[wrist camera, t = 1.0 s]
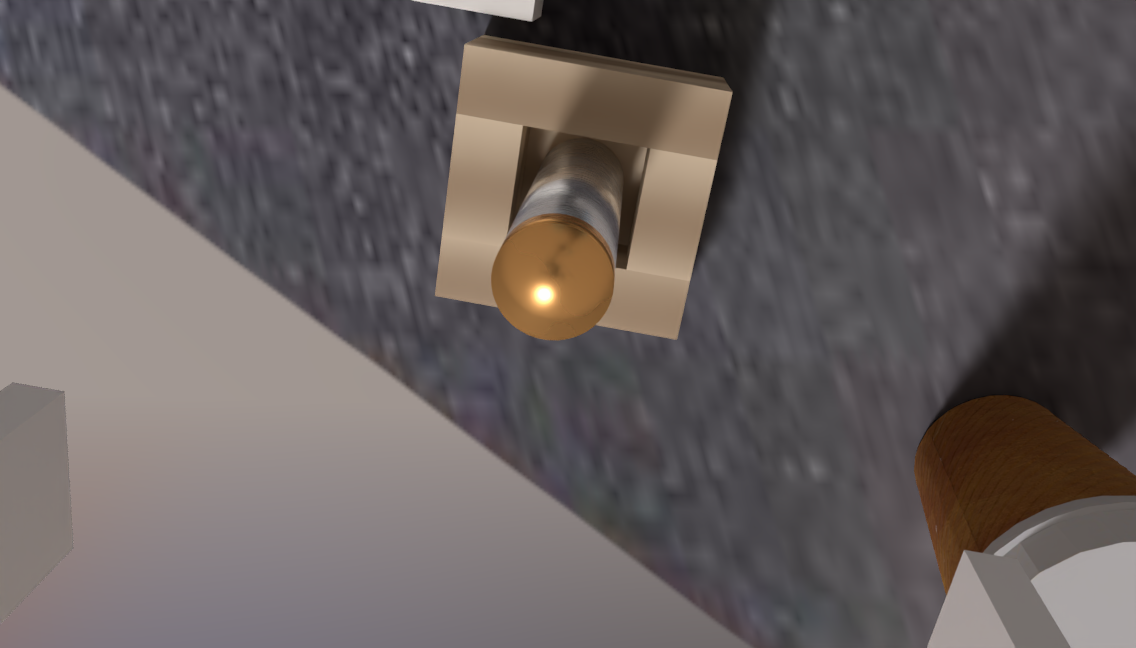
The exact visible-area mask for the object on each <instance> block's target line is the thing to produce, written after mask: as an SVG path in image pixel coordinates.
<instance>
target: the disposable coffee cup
mask: <svg viewBox="0 0 1136 648" xmlns="http://www.w3.org/2000/svg"><path fill="white" fill-rule="evenodd" d="M914 472H915V478H916V483H917V486H918V490H919V494H920V497H921V501H922V505H923V509H924V513H925V516H926V521H927V524H928V528H929V531H930V536H931V540H932V543H933V547H934V550H935V554H936V558H937V562H938V566H939V570H940V573H941V577H942V581H943V584H944V589H945V593H946V596H947V593H948V591H949V588H950V586H951V583H952V580H953V578H954V575H955V572H956V570H957V567H958V564H959V562H960V559H961V557H962V554H963V551H964V550H968V551H974V552H980V553H985V554H991V555H997V556H1002V557H1008V558H1014V559H1018V561H1019V563H1020V564H1021V566H1022V567H1023V569H1024V571H1025V572H1026V574H1027V576H1028V577H1029V579H1030V581H1031V582H1032V584H1033V586H1034V587H1035V589H1036V591H1037V592H1038V594H1039V596H1040V597H1041V599H1042V601H1043V602H1044V604H1045V606H1046V607H1047V609H1048V611H1049V612H1050V614H1051V615H1052V617H1053V619H1054V620H1055V622H1056V624H1057V625H1058V627H1059V629H1060V630H1061V632H1062V634H1063V635H1064V637H1065V639H1066V640H1067V642H1068V644H1069V645H1070V647H1071V648H1136V476H1135V475H1134V474H1132V473H1131V472H1130V471H1128V470H1127V468H1125V467H1123V466H1122V465H1120V464H1119V463H1118V462H1117V461H1115V460H1114V459H1112V458H1111V457H1109V455H1108V454H1106V453H1105V452H1103V451H1101V450H1100V449H1099V448H1098V447H1097V446H1095V445H1094V444H1092V443H1091V442H1090V441H1089V440H1087V439H1086V438H1084V437H1082V435H1081V434H1079V433H1078V432H1076V431H1074V430H1073V428H1071V427H1070V426H1068V425H1066V423H1064V422H1063V421H1062V420H1060V419H1059V418H1057V417H1056V416H1055V415H1053V414H1052V413H1051V412H1050V411H1049V410H1048V409H1046V408H1044V407H1043V406H1041V405H1039V404H1038V403H1036V402H1033V401H1031V400H1028V399H1025V398H1022V397H1016V396H1009V395H992V396H987V397H982V398H977V399H973V400H970V401H968V402H965V403H963V404H960V405H958V406H956V407H954V408H953V409H951V410H949V411H948V412H946V413H945V414H944V415H943V416H941V417H940V418H939V419H938V420H936V421H935V423H934V424H933V425H932V426H931V427H930V428H929V429H928V430H927V432H926V434H925V435H924V437H923V439H922V441H921V443H920V445H919V447H918V450H917V453H916V456H915V466H914Z"/></svg>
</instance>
